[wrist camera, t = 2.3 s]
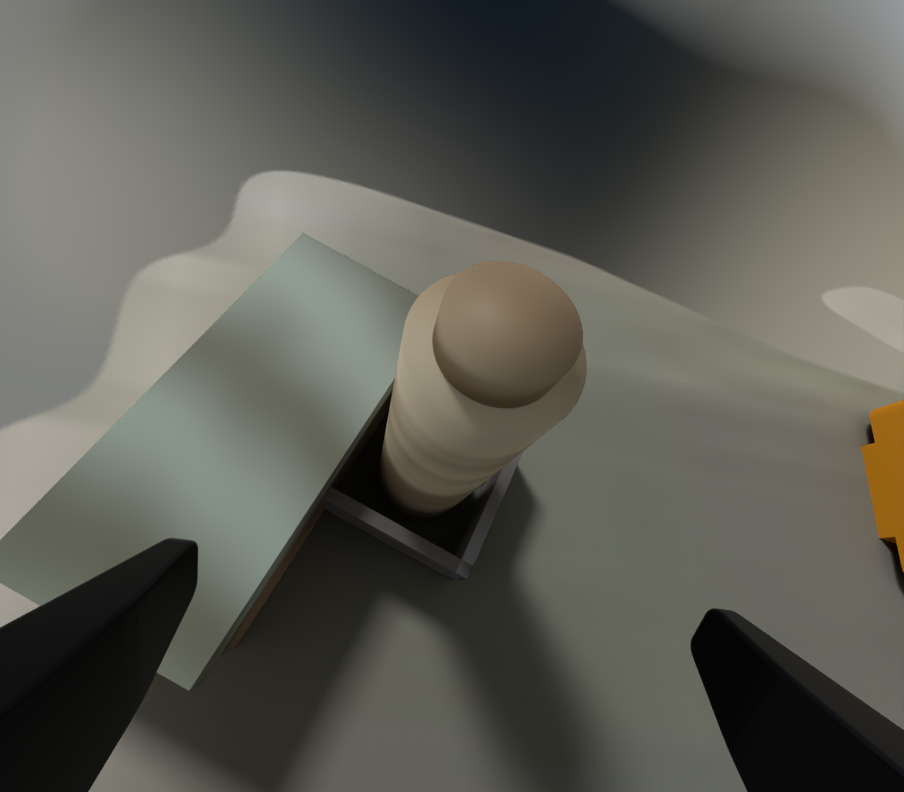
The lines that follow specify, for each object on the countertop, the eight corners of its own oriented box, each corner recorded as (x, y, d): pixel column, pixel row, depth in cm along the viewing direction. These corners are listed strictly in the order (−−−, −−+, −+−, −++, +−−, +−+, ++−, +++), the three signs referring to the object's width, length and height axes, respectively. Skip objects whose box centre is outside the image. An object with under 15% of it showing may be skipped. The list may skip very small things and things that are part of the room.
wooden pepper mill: (439, 537, 19) (574, 461, 7) (360, 493, 19) (365, 346, 7) (476, 460, 20) (633, 298, 9) (404, 421, 20) (465, 208, 9)
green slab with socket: (379, 740, 15) (387, 804, 11) (84, 572, 16) (-27, 567, 11) (524, 418, 22) (566, 376, 17) (314, 303, 22) (303, 232, 18)
